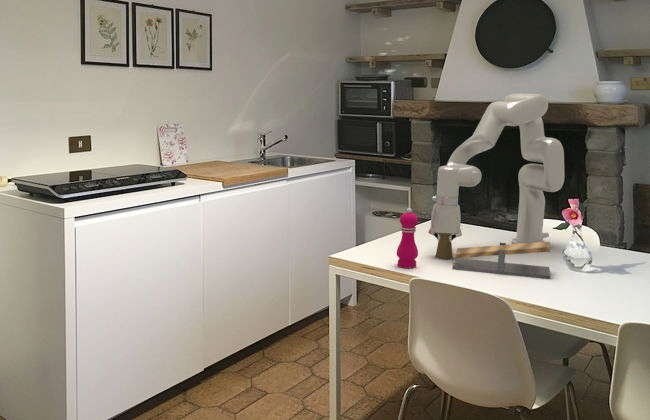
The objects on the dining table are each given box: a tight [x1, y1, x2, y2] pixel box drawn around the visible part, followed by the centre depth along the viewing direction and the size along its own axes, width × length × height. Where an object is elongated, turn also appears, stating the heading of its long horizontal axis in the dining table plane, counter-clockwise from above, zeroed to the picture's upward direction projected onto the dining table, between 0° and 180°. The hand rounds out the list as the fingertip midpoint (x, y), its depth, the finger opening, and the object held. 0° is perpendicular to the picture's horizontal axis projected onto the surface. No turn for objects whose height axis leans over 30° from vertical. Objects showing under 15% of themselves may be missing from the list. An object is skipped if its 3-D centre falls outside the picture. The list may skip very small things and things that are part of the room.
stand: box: [451, 242, 551, 280], centre depth 207 cm, size 31×11×8 cm, turn 73°
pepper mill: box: [396, 207, 419, 269], centre depth 208 cm, size 7×7×20 cm
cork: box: [435, 233, 454, 260], centre depth 221 cm, size 6×6×11 cm
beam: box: [454, 241, 551, 259], centre depth 206 cm, size 30×8×2 cm, turn 72°
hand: (444, 251), depth 221 cm, fingers closed on cork, 1 cm apart
